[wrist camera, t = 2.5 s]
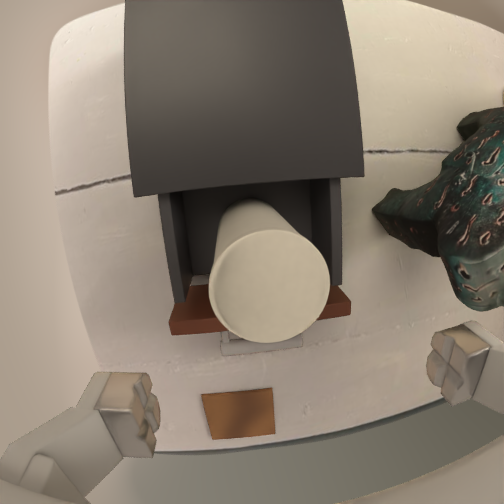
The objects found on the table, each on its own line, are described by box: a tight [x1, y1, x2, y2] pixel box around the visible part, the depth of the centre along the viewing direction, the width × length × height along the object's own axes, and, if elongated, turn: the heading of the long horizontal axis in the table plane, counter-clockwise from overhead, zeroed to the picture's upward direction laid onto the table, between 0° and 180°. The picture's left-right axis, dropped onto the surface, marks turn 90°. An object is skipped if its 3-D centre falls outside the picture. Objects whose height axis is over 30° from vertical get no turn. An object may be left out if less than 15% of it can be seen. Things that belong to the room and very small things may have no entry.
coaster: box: [201, 388, 275, 440], centre depth 34 cm, size 8×8×1 cm
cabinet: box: [124, 0, 364, 197], centre depth 21 cm, size 15×15×9 cm
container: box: [209, 198, 330, 343], centre depth 20 cm, size 5×5×13 cm
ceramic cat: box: [372, 107, 504, 312], centre depth 18 cm, size 20×6×20 cm, turn 132°
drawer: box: [158, 178, 351, 356], centre depth 24 cm, size 18×13×7 cm
